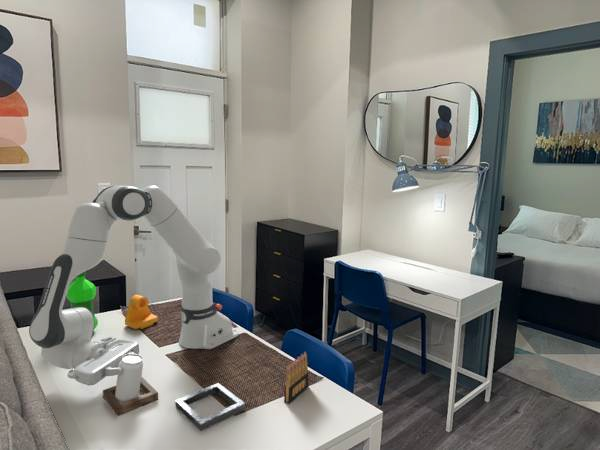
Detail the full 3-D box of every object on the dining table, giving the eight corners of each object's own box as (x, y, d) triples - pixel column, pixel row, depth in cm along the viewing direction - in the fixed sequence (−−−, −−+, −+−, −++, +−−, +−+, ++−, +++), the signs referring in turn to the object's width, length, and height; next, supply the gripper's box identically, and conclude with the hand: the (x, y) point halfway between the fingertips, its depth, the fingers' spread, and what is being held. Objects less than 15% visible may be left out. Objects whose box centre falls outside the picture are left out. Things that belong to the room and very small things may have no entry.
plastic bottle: (103, 326, 173) (98, 267, 168) (91, 338, 162) (86, 275, 158) (78, 326, 172) (73, 267, 168) (64, 338, 162) (58, 275, 157)
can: (132, 389, 128) (137, 351, 126) (142, 399, 124) (148, 360, 122) (110, 395, 123) (115, 356, 122) (120, 406, 119) (126, 365, 117)
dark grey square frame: (218, 388, 130) (218, 382, 130) (245, 409, 120) (245, 403, 120) (175, 406, 121) (175, 400, 121) (200, 431, 111) (200, 424, 111)
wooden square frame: (141, 383, 132) (141, 376, 132) (158, 400, 124) (157, 392, 124) (103, 398, 125) (102, 390, 124) (117, 416, 116) (117, 408, 116)
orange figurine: (135, 331, 169) (133, 302, 167) (125, 326, 174) (123, 298, 172) (158, 322, 178) (157, 295, 176) (148, 318, 182) (147, 291, 180)
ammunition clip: (289, 404, 123) (289, 365, 121) (283, 402, 124) (284, 364, 122) (308, 387, 132) (309, 351, 130) (303, 385, 133) (304, 349, 131)
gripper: (62, 365, 116) (104, 373, 112) (115, 333, 135) (152, 340, 131) (64, 386, 117) (106, 395, 113) (116, 352, 136) (153, 359, 132)
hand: (131, 365), depth 122 cm, fingers closed on can, 5 cm apart
